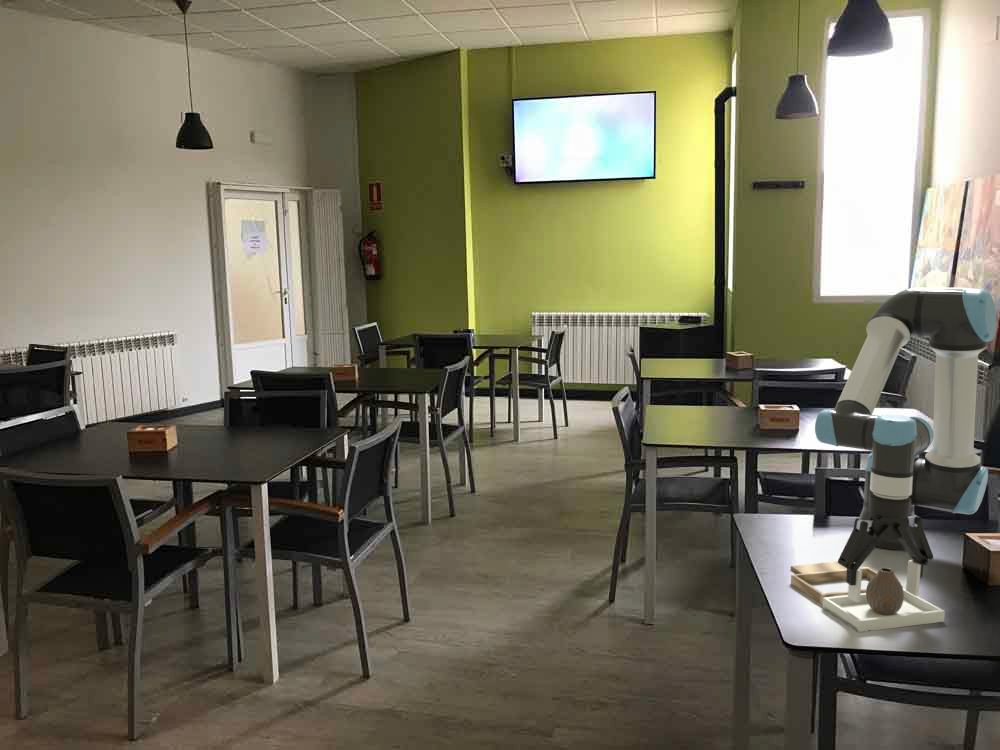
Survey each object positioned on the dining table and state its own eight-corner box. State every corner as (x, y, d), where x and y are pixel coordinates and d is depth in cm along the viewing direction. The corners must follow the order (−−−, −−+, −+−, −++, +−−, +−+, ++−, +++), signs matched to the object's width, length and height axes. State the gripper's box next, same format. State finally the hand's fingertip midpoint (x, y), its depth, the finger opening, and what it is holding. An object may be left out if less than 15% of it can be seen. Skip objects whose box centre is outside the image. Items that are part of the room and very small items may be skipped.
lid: (843, 564, 195) (844, 560, 195) (860, 573, 190) (860, 570, 189) (790, 569, 192) (790, 566, 192) (806, 579, 186) (806, 575, 186)
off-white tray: (903, 598, 176) (904, 588, 175) (944, 621, 165) (944, 611, 164) (822, 607, 171) (823, 597, 171) (858, 632, 160) (859, 621, 160)
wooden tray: (867, 575, 189) (867, 566, 188) (902, 595, 178) (902, 586, 177) (790, 583, 184) (791, 574, 184) (822, 604, 173) (822, 595, 173)
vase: (881, 620, 164) (884, 578, 163) (857, 606, 170) (860, 565, 169) (910, 616, 166) (913, 574, 164) (885, 602, 172) (888, 561, 171)
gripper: (930, 484, 171) (922, 583, 174) (823, 493, 165) (817, 595, 168) (958, 495, 164) (949, 597, 167) (847, 504, 158) (840, 610, 161)
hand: (883, 596), depth 167 cm, fingers open, 13 cm apart
